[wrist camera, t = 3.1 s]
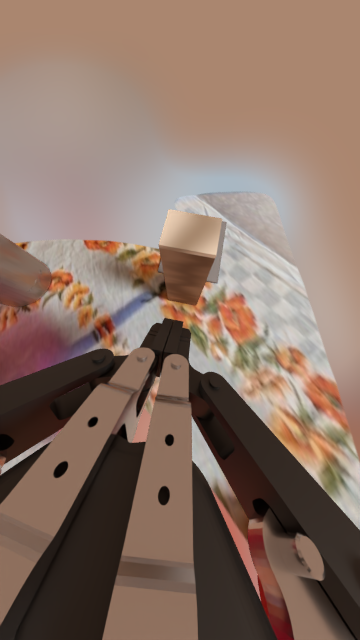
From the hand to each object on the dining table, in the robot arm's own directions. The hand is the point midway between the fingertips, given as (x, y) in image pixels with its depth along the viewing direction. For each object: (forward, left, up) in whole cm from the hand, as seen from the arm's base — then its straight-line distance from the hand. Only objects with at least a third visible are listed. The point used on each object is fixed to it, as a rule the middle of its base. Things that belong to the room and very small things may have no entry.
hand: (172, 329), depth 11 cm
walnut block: (0, +9, -11) cm, 14 cm away
